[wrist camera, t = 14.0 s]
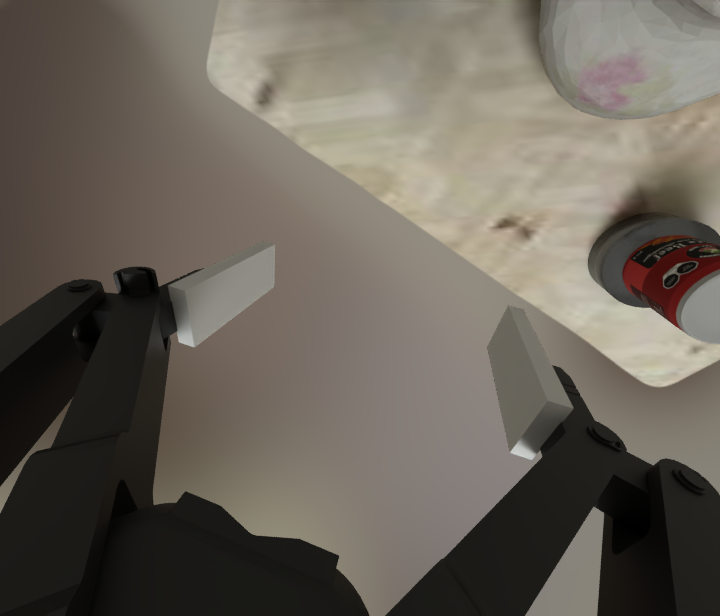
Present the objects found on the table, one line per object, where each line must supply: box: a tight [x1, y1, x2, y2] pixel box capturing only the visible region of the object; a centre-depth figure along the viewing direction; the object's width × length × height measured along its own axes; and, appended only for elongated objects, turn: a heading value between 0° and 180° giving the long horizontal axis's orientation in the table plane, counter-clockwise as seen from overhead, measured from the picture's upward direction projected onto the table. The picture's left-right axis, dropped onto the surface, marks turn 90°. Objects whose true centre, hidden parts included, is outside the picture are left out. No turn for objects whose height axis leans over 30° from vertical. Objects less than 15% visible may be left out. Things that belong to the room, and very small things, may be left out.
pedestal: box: [588, 213, 720, 308], centre depth 36 cm, size 11×11×5 cm
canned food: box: [622, 235, 720, 344], centre depth 30 cm, size 8×8×11 cm
